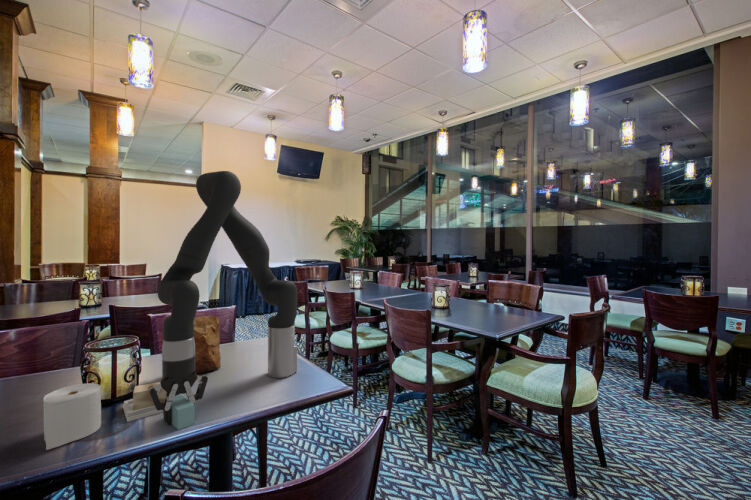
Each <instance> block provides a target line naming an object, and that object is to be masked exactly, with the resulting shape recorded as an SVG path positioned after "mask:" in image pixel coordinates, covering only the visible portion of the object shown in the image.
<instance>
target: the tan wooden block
mask: <svg viewBox="0 0 751 500" xmlns="http://www.w3.org/2000/svg"><path fill="white" fill-rule="evenodd" d="M160 382H161V381H159V382H153V383H147V384H141V385H135V386H134V389H133V393H132V399H133V411H135V410H138V409H142V408H146V407H150V406H154V402H153V400H152V397H151V395H150V392H149V390H148V388H149V387H150V386H153V387H154V386H156V385H158V384H160ZM165 395H166V391H165V390H164V389H163V388H161V389H160V393H159V394H158V398H159V401H160V403H164V399H165Z"/></svg>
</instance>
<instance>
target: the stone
mask: <svg viewBox="0 0 751 500" xmlns="http://www.w3.org/2000/svg"><path fill="white" fill-rule="evenodd" d="M220 324H221V323H220V318H219V317H217V316H216V315H215V316H214V315H202V316H198V317H195V318H194V341H195V372H196V374H197V375H202V374H204V373H207V372H211V371H215V370H217V369H220V368H221V367H222V366H221V351H220V329H221V328H220V326H221V325H220ZM161 336H162V337H161V340H162V341H163V331H162V333H161ZM162 346H163V343H162Z"/></svg>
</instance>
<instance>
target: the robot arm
mask: <svg viewBox="0 0 751 500" xmlns="http://www.w3.org/2000/svg"><path fill="white" fill-rule="evenodd" d="M241 185H242V184H241V180H240V179H239V177H238V176H237V175H236V174H235V173H233V172H232V171H230V170H228V171H227V170H218V171H211V172H207V173H206V172H205V173H202V174H200V175H199V176H198V177H197V179H196V183H195V188H196V192H197V195H198V196H199V198H200V200H201V201H202V202H203V204H204V205H205V206H206V209H205V211H204V212H203V214H202V215H201V217H200V218H199V219H198V221H196V223H195V224H194V225H193V226H192V228H190V230H189V231H188V233H187V234H186V236H185V238H184V240H183V242H182V243H181V246H180V248H179V251H178V253H177V256H176V259H175V261H174V262H173V263H172V265H170V267H169V269H168V270H167V271H166V273H165V274H164V275H163V277H162V279H161V281H160V283H159V285H158V288H157V297H158V299H159V302H160V303H163V304H164V305H167V306H172V308H171V314H170V315H168V316H167V317H165V318H164V320H163V325H162V332H163V340H162V344H163V345H162V348H161V362H162V364H161V365H162V366H161V367H162V369H161V370H162V378H161V380H160V381H159V382H160V384H158V385H156V386H154V387H153V386H150V387H149V388H148V390H149V392H150V395H151V397H152V400H153V402H154V405H155V407H156V409H157V410H163V412H162V413H163V414H162V417H163V418H162V419H163V421H164V423H166V424H167V425H172V424H171V409H170V407H171V404H172V401H173V399H174V396H177V395H180V394H181V395H183V394H186V398H187V399H188V400H189V401H190V402H192V403H193V404H195V405H196V402H197V401H198V400H202V399H203V397H204V393H205V389H206V387H207V383H208V380H209V377H208V376H207V375H206V374H204V373H201V374H196V372H195V341H194V318H196V314H197V311H198V308H199V303H200V297H201V296H200V289H199V287H198V285H197V283H195V281H193V280H191V279H192V277H193V276H194V275H197V274H199V273H201V272H202V271H203V270H204V268H205V266H206V263H207V260H208V257H209V255H210V252H211V249H212V247H213V245H214V242H215V240H216V237H217V235H218V233H219V232H220V230H221V228H222V229H223V231H224V233H225V235H226V236H227V237H228V239H229V240H230V242H231V244H232V245H233V247H234V249H235V250H236V253H237V254H238V255H239V257H240V259H241V261H242V262H243V263H244V265H245V266H246V268H247V269H248V272H249V273H250V274H251V276H252V279H254V282H255V283H256V286H257V289H258V290H259V293H260V294H261V297H262V299H263V300H264V302H265V303H266V304H268V305H270V306H274V307H277V310H276V311H277V312H276V314H275V315H272V316H270V317H269V318H268V320H267V375H268V377H270V378H273V379H275V378H276V379H283V378H287V377H291V376H292V374H293V375H294V374H295V372H296V373H298V346H297V345H296V344H295V343H296V341H295V340H296V338H295V335H296V331H295V330H296V328H295V327H296V324H295V323H296V322H295V320H296V319H297V313H298V295H299V294H298V287H297V285H296V284H295V282H293V281H290V280H281V279H277V278H276V276H275V275H274V274H273V272H272V270H271V268H270V248H269V245H268V243H267V242H266V240H265V238H264V236H263V234H262V233H261V231H260V230H259V229H258V228H257V227H256V226H255V225H254V224H253V223H252V222H250V221H249V219H247V218H246V217H244V216H243V215H242V214H241V213H240V212H239V211H238V210H237V208H236V207H235V204H236V203H237V200H238V199H239V196H240V195H241V191H242V190H241V189H242V186H241ZM290 375H291V376H290ZM196 382H197V383H198V385H197V388H196V391H195V393H194V392H193V390H192V387H193V386H194V384H195V383H196ZM161 388H163V389H164V390H165V391H166V395H165V400H164V403H160V401H159V398H158V394H159V393H160V389H161Z"/></svg>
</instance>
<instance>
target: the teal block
mask: <svg viewBox="0 0 751 500" xmlns="http://www.w3.org/2000/svg"><path fill="white" fill-rule="evenodd" d="M164 400H165V399H164ZM195 407H196V403H195V404H193V403H192V402H190V401H189V400H188V398H187V397H185V396H183V394H179V395H177V396H174V399H173V401H172V404H171V407H170V409H171V424H170V425H172V426H173V427H174V428H175V429H176V430H178V431H179V430H182V429H185V428H186V427H189V426H193V425H195V424H196V415H195V414H196V409H195Z"/></svg>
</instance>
